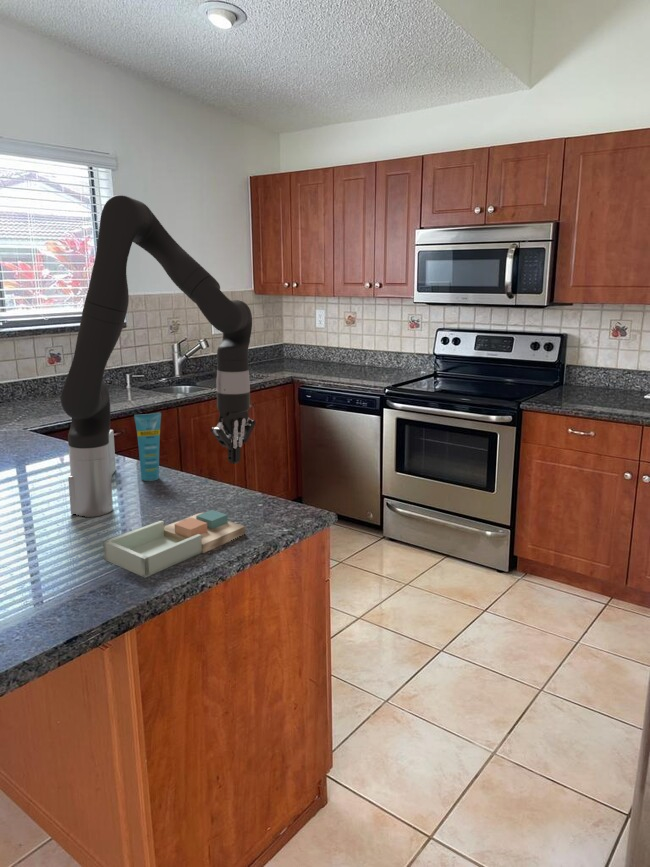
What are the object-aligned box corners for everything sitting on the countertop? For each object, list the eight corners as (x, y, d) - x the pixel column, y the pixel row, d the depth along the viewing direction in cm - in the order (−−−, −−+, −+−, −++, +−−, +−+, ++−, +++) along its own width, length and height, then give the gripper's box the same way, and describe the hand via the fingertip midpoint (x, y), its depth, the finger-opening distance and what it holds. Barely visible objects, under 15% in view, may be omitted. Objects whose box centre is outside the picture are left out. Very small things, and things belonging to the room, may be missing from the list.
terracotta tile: (190, 538, 139) (190, 529, 139) (174, 532, 142) (174, 524, 142) (207, 531, 143) (207, 522, 143) (191, 525, 146) (191, 517, 146)
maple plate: (203, 553, 137) (203, 544, 136) (159, 536, 145) (159, 528, 144) (245, 534, 147) (245, 526, 147) (202, 519, 155) (202, 512, 155)
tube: (140, 483, 181) (137, 416, 176) (134, 478, 184) (131, 413, 180) (165, 479, 185) (163, 413, 180) (160, 474, 188) (157, 410, 184)
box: (145, 577, 125) (144, 558, 124) (104, 559, 133) (103, 541, 132) (201, 552, 137) (201, 535, 136) (161, 537, 145) (160, 520, 144)
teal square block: (211, 529, 145) (211, 521, 144) (196, 524, 147) (196, 515, 147) (227, 522, 148) (227, 514, 148) (212, 517, 151) (212, 509, 151)
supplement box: (91, 470, 191) (88, 429, 188) (116, 470, 192) (114, 429, 188) (84, 478, 184) (81, 435, 181) (110, 478, 184) (108, 435, 181)
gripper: (224, 395, 139) (226, 472, 143) (264, 387, 150) (265, 459, 154) (200, 391, 143) (202, 466, 148) (241, 384, 154) (242, 453, 158)
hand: (234, 462), depth 151 cm, fingers closed
